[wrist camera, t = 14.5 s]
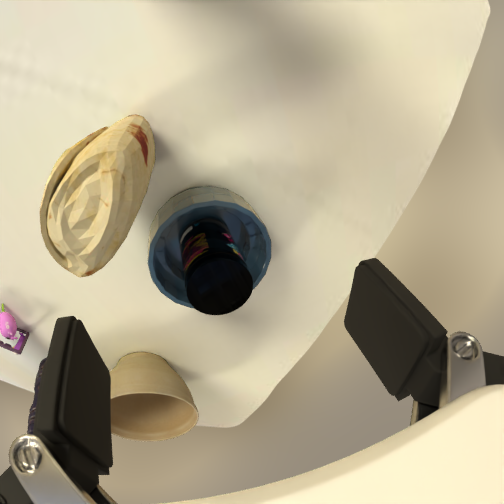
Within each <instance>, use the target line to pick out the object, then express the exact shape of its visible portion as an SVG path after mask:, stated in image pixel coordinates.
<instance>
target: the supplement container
mask: <svg viewBox="0 0 504 504" xmlns="http://www.w3.org/2000/svg"><path fill="white" fill-rule="evenodd" d="M179 246H180V253H181V260H182V267H183V273H184V279H185V288H186V293H187V298H188V300H189V302H190V304H191V305H192V306H193V307H194V308H195V309H196V310H198V311H200V312H202V313H205V314H209V315H223V314H227V313H230V312H232V311H234V310H236V309H238V308H239V307H241V306H242V305H243V304H244V303H245V302H246V301H247V300H248V298H249V297H250V295H251V293H252V290H253V279H252V276H251V273H250V271H249V269H248V267H247V265H246V263H245V262H244V260H243V258H242V256H241V253H240V251H239V249H238V247H237V245H236V243H235V241H234V239H233V237H232V235H231V233H230V231H229V229H228V227H227V226H226V225H225V224H224V223H222V222H220V221H218V220H216V219H211V218H203V219H199V220H196V221H194V222H192V223H191V224H189V225H188V226H187V227H186V228H185V229H184V231H183V232H182V234H181V237H180V241H179Z"/></svg>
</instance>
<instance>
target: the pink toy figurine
mask: <svg viewBox="0 0 504 504" xmlns="http://www.w3.org/2000/svg"><path fill="white" fill-rule="evenodd" d="M4 308H5V307H4V304H2V313H0V331H1V334H2V335H3V336H4V337H5V338H7V339H11V340H14V339H17V338H16V337H14V336H15V334H16V331H19V333H20V332H22V333H20V335H21V336H20V338H19V341H18V343H17V344H16V345H15V347H11V345H9V344H7V343H6V344H4V343H3V342H2V341H0V346H1V347H3V348H5V349H8V350H10V351H13V352H14V353H15V354H21V353H22V350H23V348H24V346H25V344H26V341H27V339H28V337H29V332H26V331H24V330H21V329H19V328H17V325H16V321H15V319H14V318H13V316H12V315H11V314H9V313H7V312H5V311H4V310H5V309H4ZM23 333H24V334H26V336H24V335H23Z"/></svg>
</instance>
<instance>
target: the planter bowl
mask: <svg viewBox="0 0 504 504" xmlns="http://www.w3.org/2000/svg"><path fill="white" fill-rule="evenodd" d="M110 377H111V433H112V434H114V435H116V436H119V437H122V438H125V439H130V440H136V441H162V440H168V439H172V438H175V437H178V436H181V435H183V434H185V433H187V432H188V431H190V430H191V429H192V428H193V427H194V426H195V425H196V423H197V421H198V417H199V415H198V410H197V408H196V406H195V404H194V401H193V398H192V395H191V393H190V391H189V389H188V387H187V385H186V384H185V382H184V381H183V380H182V378H181V377H180V376H179V375H178V374H177V373H176V372H175V371H174V370H173V369H172V368H171V367H169V365H168V363H167V362H166V361H165V360H164V359H163V358H161V357H160V356H158V355H155V354H152V353H147V352H136V353H131V354H128V355H126V356H124V357H122V358H121V359H120V360H119V361H118V363H117V366H116V367H115V368H114V369H113V370H112V371H111V372H110Z"/></svg>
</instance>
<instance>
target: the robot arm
mask: <svg viewBox="0 0 504 504" xmlns="http://www.w3.org/2000/svg"><path fill="white" fill-rule="evenodd" d="M344 324H345V328H346V330H347V331H348V333H349V334H350V335H351V337H352V338H353V340H354V341H355V343H356V344H357V346H358V347H359V349H360V350H361V352H362V353H363V355H364V356H365V357H366V359H367V360H368V362H369V363H370V365H371V366H372V368H373V369H374V371H375V372H376V374H377V375H378V377H379V378H380V380H381V381H382V383H383V384H384V386H385V387H386V389H387V390H388V392H389V393H390V394H391V395H393V396H394V395H395V397H396V398H397V400H398V401H400V400H402V399H403V398H405V397H407V396H409V395H410V394H411V396H412V397H413V399H414V401H413V409H412V416H411V423H410V426H409V427H407V428H406V429H404V430H402V431H400V432H398V433H396V434H394V435H392V436H390V437H389V438H387V439H385V440H383V441H381V442H379V443H376V444H374V445H372V446H370V447H368V448H366V449H364V450H361V451H359V452H357V453H355V454H353V455H350V456H348V457H345V458H343V459H341V460H338V461H336V462H333V463H331V464H328V465H326V466H323V467H320V468H317V469H315V470H312V471H309V472H306V473H303V474H300V475H297V476H294V477H291V478H288V479H285V480H281V481H277V482H274V483H270V484H267V485H263V486H259V487H255V488H251V489H247V490H242V491H238V492H234V493H229V494H224V495H219V496H213V497H207V498H201V499H194V500H186V501H178V502H169V503H158V504H504V356H499V355H495V354H491V353H487V352H483V351H482V347H481V345H480V343H479V342H478V340H477V339H476V338H475V337H474V336H472V335H470V334H468V333H466V332H455V333H453V334H452V335H450V337H449V338H448V337H447V336H446V334H447V330H446V329H445V328H444V327H443V326H442V325H441V324H440V323H439V322H438V321H437V319H436V318H435V317H434V316H433V315H432V314H431V313H430V312H429V311H428V310H427V309H426V308H425V307H424V305H423V304H422V303H421V302H420V301H419V300H418V299H417V298H416V297H415V296H414V295H413V294H412V293H411V292H410V291H409V290H408V289H407V288H406V287H405V286H404V285H403V284H402V283H401V282H400V281H399V280H398V279H397V278H396V277H395V276H394V275H393V274H392V273H391V272H390V271H389V270H388V269H387V268H386V267H385V266H384V265H383V264H382V263H381V262H380V261H379V260H378V259H376V258H372V259H368V260H363V261H361V262H360V263H359V265H358V266H357V267H356V269H355V273H354V278H353V283H352V288H351V293H350V298H349V302H348V307H347V311H346V315H345V319H344ZM9 462H10V464H11V466H10V467H9V468H8V469H7V470H6V471H5V472H4V473H3V474H2V475H1V476H0V504H117V503H116V502H115V501H114V500H113V499H112V498H111V497H110V496H109V495H108V494H107V493H106V492H105V491H104V490H103V489H102V488H101V486H99V476H98V475H109V467H112V465H113V457H112V440H111V377H110V373H109V370H108V368H107V367H106V365H105V363H104V362H103V360H102V358H101V356H100V355H99V353H98V351H97V349H96V348H95V346H94V344H93V342H92V340H91V338H90V336H89V335H88V333H87V331H86V329H85V327H84V325H83V323H82V321H81V320H77V319H76V318H75V317H74V316H69V317H62V318H58V319H57V321H56V324H55V328H54V331H53V335H52V339H51V344H50V348H49V352H48V357H47V360H46V361H45V363H44V366H43V370H42V375H41V380H40V386H39V392H38V398H37V404H36V411H35V419H34V427H33V435H32V434H24V435H21V436H19V437H17V438H16V439H15V440H14V441H13V443H12V445H11V447H10V450H9Z"/></svg>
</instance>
